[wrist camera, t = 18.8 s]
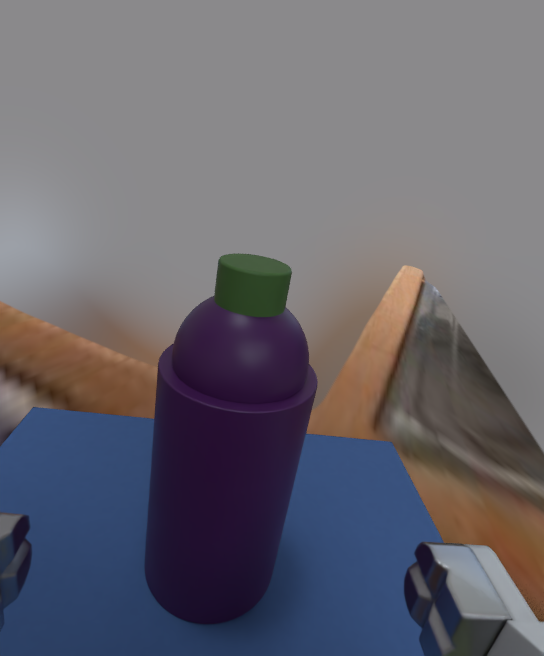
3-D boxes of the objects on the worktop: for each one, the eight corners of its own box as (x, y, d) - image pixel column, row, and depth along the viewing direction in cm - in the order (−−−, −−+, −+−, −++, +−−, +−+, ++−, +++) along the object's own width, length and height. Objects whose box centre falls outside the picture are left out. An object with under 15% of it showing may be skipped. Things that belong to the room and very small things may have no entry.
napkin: (390, 445, 27) (391, 441, 26) (634, 923, 10) (639, 918, 10) (33, 411, 24) (33, 406, 24) (-440, 987, 7) (-448, 981, 7)
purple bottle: (269, 512, 20) (324, 255, 15) (277, 627, 15) (363, 303, 10) (158, 503, 19) (180, 234, 14) (129, 622, 14) (147, 272, 9)
